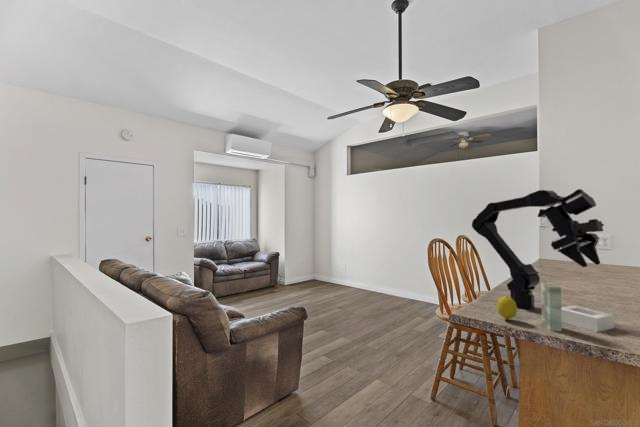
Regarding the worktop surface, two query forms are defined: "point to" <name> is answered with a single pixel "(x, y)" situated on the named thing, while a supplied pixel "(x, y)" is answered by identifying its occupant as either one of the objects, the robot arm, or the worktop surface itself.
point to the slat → (551, 306)
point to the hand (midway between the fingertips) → (592, 265)
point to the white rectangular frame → (587, 318)
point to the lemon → (507, 307)
